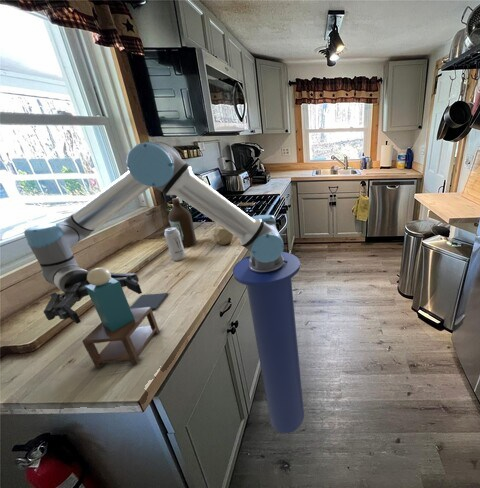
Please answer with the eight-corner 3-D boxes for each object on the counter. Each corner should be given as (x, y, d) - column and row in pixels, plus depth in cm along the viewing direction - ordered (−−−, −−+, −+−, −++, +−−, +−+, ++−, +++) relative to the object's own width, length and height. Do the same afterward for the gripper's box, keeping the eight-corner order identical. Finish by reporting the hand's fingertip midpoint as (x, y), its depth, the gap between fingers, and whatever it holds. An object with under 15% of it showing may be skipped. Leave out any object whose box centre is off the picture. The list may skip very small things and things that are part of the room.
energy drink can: (180, 261, 121) (171, 231, 115) (169, 260, 122) (159, 231, 116) (188, 256, 126) (181, 227, 120) (178, 255, 127) (169, 226, 121)
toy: (125, 313, 71) (103, 261, 65) (135, 319, 69) (113, 266, 63) (103, 325, 67) (77, 271, 61) (112, 332, 65) (87, 276, 58)
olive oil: (187, 239, 146) (176, 195, 136) (202, 241, 143) (191, 196, 133) (171, 246, 137) (158, 200, 127) (186, 249, 134) (173, 201, 124)
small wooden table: (159, 331, 78) (150, 306, 74) (137, 363, 67) (125, 337, 63) (124, 334, 77) (113, 310, 73) (96, 368, 66) (81, 341, 62)
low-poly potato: (227, 249, 133) (243, 234, 137) (211, 234, 128) (228, 218, 133) (219, 248, 145) (234, 234, 149) (204, 234, 140) (220, 220, 144)
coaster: (167, 294, 96) (167, 292, 96) (155, 309, 88) (155, 308, 87) (142, 296, 95) (141, 295, 95) (127, 311, 87) (127, 310, 87)
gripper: (128, 274, 87) (163, 290, 77) (22, 316, 67) (51, 346, 57) (120, 253, 84) (156, 268, 74) (7, 292, 64) (35, 319, 54)
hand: (110, 302), depth 66 cm, fingers open, 13 cm apart
